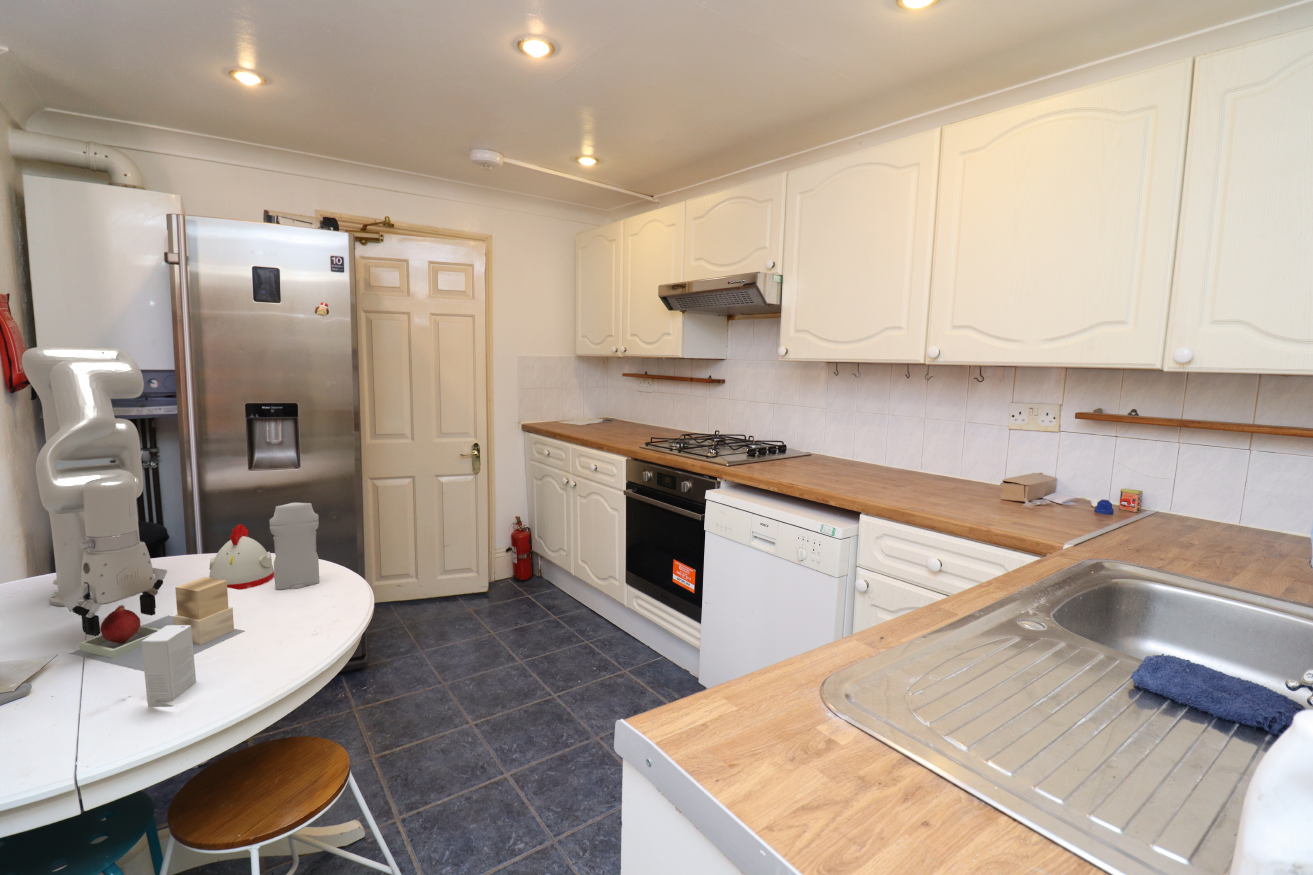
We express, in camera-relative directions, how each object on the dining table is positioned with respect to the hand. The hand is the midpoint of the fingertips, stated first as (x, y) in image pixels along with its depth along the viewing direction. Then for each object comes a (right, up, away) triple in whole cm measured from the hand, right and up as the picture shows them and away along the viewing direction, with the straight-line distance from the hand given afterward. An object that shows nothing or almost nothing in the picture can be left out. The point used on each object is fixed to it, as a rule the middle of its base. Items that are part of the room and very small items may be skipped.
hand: (121, 623), depth 117 cm
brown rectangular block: (+13, -4, +5) cm, 14 cm away
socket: (0, -4, +1) cm, 4 cm away
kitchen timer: (-2, -1, +37) cm, 37 cm away
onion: (0, -4, 0) cm, 4 cm away
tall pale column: (+14, -1, +35) cm, 38 cm away
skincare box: (+22, -8, -15) cm, 28 cm away
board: (+6, -5, +2) cm, 9 cm away
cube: (+13, +1, +5) cm, 14 cm away
